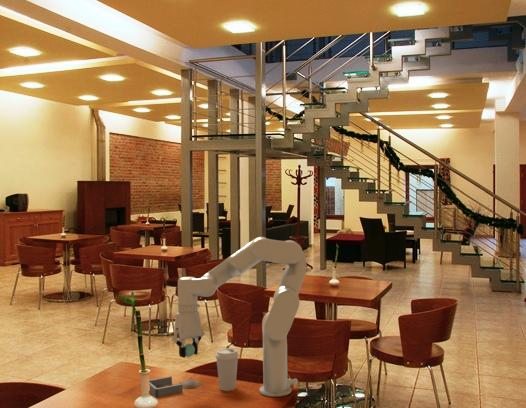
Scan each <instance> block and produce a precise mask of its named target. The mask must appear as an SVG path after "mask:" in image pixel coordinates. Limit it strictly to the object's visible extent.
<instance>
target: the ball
mask: <svg viewBox="0 0 526 408" xmlns="http://www.w3.org/2000/svg"><path fill="white" fill-rule="evenodd" d="M184 347H185V358H190V357H192V356H193V355H195V354H194V352H195V348H194V346H193V345H192V343H186V344H184Z"/></svg>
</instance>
